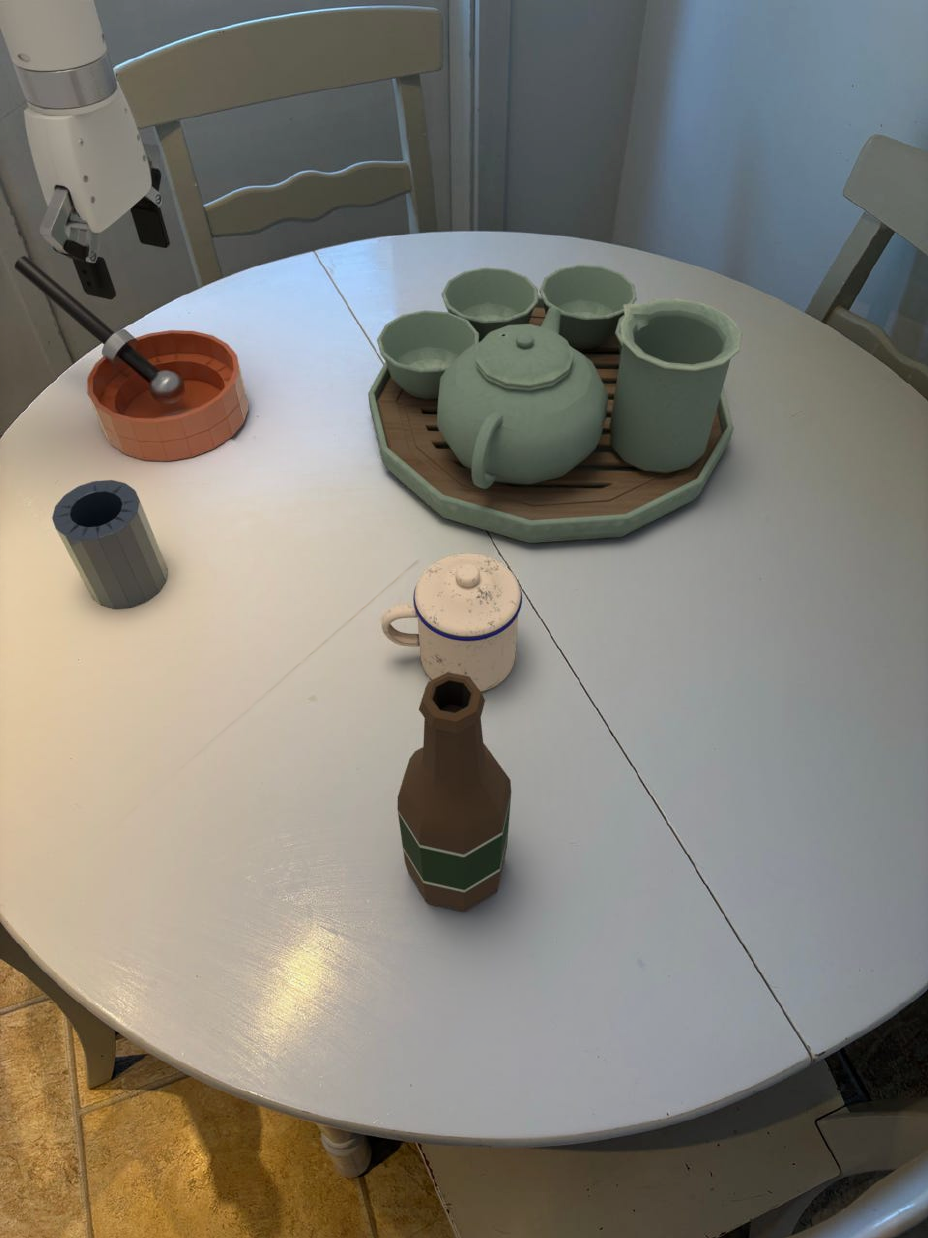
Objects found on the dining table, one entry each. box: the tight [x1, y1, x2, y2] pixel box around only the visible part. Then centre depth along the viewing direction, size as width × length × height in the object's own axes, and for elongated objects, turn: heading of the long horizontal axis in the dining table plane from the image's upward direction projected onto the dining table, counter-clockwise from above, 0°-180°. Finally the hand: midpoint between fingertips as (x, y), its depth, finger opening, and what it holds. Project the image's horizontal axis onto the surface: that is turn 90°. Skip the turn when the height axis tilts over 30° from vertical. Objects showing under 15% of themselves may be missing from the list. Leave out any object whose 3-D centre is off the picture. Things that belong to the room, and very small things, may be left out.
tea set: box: [367, 264, 743, 544], centre depth 95 cm, size 40×40×16 cm
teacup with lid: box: [380, 553, 523, 693], centre depth 76 cm, size 12×9×12 cm
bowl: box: [86, 329, 250, 462], centre depth 99 cm, size 16×16×6 cm
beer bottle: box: [397, 672, 512, 912], centre depth 59 cm, size 8×8×24 cm
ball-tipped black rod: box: [14, 255, 185, 405], centre depth 98 cm, size 4×4×22 cm
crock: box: [51, 479, 169, 610], centre depth 82 cm, size 7×7×10 cm
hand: (129, 269), depth 87 cm, fingers open, 9 cm apart
